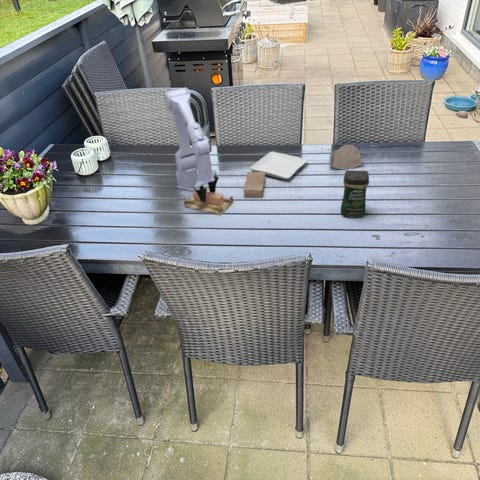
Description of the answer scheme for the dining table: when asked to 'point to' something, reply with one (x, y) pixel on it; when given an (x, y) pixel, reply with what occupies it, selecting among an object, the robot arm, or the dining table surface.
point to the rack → (209, 206)
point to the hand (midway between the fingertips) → (207, 196)
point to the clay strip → (210, 198)
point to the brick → (254, 185)
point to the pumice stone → (346, 158)
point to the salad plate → (279, 165)
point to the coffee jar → (354, 193)
